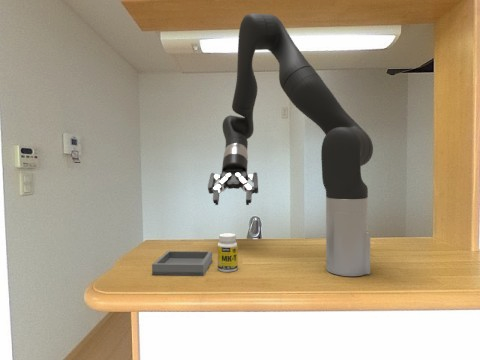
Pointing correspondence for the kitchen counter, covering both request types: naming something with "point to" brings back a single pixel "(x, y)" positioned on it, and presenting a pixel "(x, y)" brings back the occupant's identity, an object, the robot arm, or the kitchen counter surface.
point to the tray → (182, 263)
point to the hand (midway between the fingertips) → (231, 203)
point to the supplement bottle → (227, 253)
